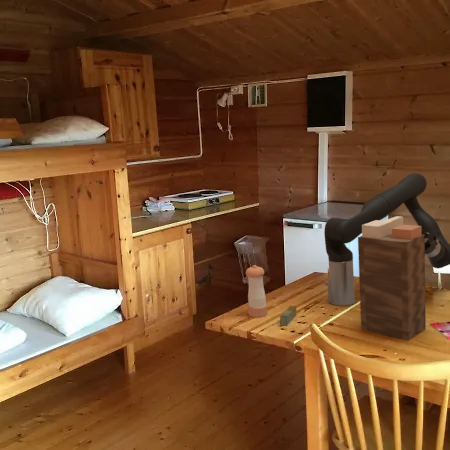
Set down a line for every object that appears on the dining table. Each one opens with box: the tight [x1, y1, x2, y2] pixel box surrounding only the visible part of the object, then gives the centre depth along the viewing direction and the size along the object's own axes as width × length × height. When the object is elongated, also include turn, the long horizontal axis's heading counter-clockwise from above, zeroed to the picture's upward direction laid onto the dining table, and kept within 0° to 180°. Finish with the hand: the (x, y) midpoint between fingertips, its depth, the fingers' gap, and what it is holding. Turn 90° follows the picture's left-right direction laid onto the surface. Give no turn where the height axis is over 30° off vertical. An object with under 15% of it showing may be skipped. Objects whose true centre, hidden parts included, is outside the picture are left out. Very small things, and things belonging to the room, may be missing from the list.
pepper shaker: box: [245, 264, 268, 318], centre depth 206 cm, size 7×7×19 cm
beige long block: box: [361, 215, 404, 239], centre depth 183 cm, size 20×6×4 cm, turn 135°
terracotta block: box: [392, 224, 422, 240], centre depth 174 cm, size 7×6×3 cm
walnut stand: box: [357, 234, 427, 342], centre depth 180 cm, size 12×17×32 cm
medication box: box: [279, 305, 297, 328], centre depth 198 cm, size 12×3×4 cm, turn 156°
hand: (409, 231), depth 196 cm, fingers open, 8 cm apart
